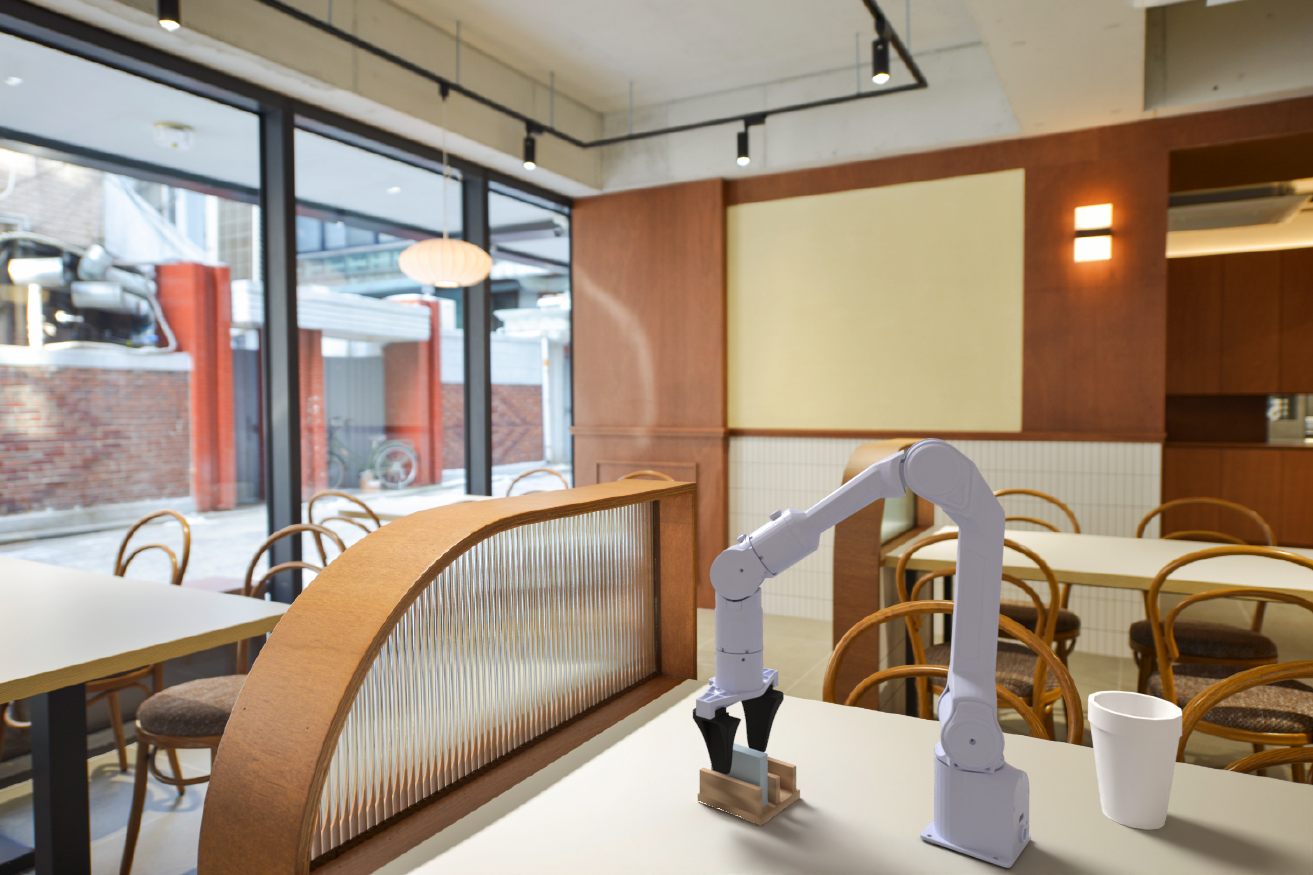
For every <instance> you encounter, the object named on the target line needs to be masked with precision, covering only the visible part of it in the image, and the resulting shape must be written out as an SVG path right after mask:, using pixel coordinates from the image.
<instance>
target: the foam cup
mask: <svg viewBox="0 0 1313 875" xmlns="http://www.w3.org/2000/svg"><path fill="white" fill-rule="evenodd" d="M1087 721H1088V722H1089V724H1090V731H1091V739H1092V749H1093V754H1094V762H1095V769H1096V770H1095V771H1096V777H1097V784H1098V791H1099V798H1100V799H1099V800H1100V806H1101V812H1102V814H1104V815H1105V816H1106V817H1107V819H1110V820H1112V821H1114V822H1115V823H1117V824H1120V825H1122V826H1124V827H1125V826H1126V827H1129V828H1132V829H1133V828H1134V829H1140V830H1145V831H1146V830H1147V831H1148V830H1158V829H1161V828H1162V827H1164V826H1165V824H1166V823H1165V821H1166V819H1167V814H1168V809H1169V808H1168V807H1169V802H1170V797H1171V791H1172V790H1171V789H1172V784H1173V779H1174V773H1175V766H1176V761H1177V756H1178V749H1179V742H1180V737H1183V712H1182V708H1180V707H1179V706H1177V705H1176V704H1175V703H1173V702H1171V701H1168V700H1165V699H1162V698H1159V697H1156V696H1153V695H1148V694H1143V693H1139V692H1133V691H1122V690H1121V691H1120V690H1104V691H1103V690H1101V691H1096V692H1093V693H1090V694H1089V695H1088V699H1087Z"/></svg>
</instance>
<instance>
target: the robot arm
mask: <svg viewBox="0 0 1313 875" xmlns="http://www.w3.org/2000/svg"><path fill="white" fill-rule="evenodd" d="M907 487H908V488H909V489H910V491H912V492H913V493H914V494H915V495H917V496H919V497H920V498H922V499H924V500H926V501H927V502H929V503H931V504H934V505H935V506H938V507H939V508H940V509H942V511H943V512H944V513H945V514H946V515H947V516H948V517H949V518H950V519H951V520H952V522H954V523H955V524H956V525H957V526H958V529H957V530H958V533H957V545H956V546H957V547H956V550H957V551H956V564H955V582H954V596H953V597H954V598H953V612H952V626H951V628H952V629H951V630H952V631H951V641H950V642H951V644H950V657H949V658H950V659H949V667H948V670H947V681H946V684H945V688H944V690H943V692H942V693H941V694H940V695H939V698H938V700H937V704H936V716H937V718H938V721H939V724H940V725H939V726H940V736H939V737H940V740H939V741H938V742H937V743H936V744H935V746H934V749H933V750H934V751H933V753H934V754H933V820H932V821H931V822H930V823H929V824H928V825H927V826H926V827H925V828H924V829H923V830H922V831H921V832H920V835H919V837H920V839H922V840H924V841H927V842H929V843H932V844H934V845H939V846H941V847H945V848H946V849H947V848H948V849H951V850H953V851H956V852H958V853H962V854H963V855H967V856H971V857H974V858H976V859H979V860H982V861H984V862H987V863H991V864H994V865H997V866H1000V867H1003V868H1006V869H1010V868H1011V867H1012V866H1013V865H1014V864H1015V862H1016V860H1018V858H1019V856H1020V855H1021V853H1022V852H1023V850H1024V849H1025V848H1026V846H1027V845H1028V844H1029V842H1030V841H1031V840H1032V836H1031V834H1030V781H1029V775H1028V773H1027V771H1024V770H1021V769H1019V768H1017V767H1014V766H1012V765H1011V764H1009V762H1007V761H1006V760H1005V756H1004V751H1005V747H1006V746H1005V744H1006V743H1005V742H1006V741H1005V736H1004V733H1003V730H1002V728H1001V726H1000V723H999V722H998V721H999V720H998V715H997V714H998V713H997V712H998V711H997V710H998V698H997V685H996V683H997V682H996V667H997V656H998V655H997V654H998V651H997V650H998V639H999V621H1000V606H1001V595H1002V594H1001V592H1002V580H1003V560H1004V546H1005V545H1004V544H1005V534H1006V533H1005V531H1006V530H1005V529H1006V514H1005V510H1004V507H1003V506H1002V505H1001V503H1000V502H999V500H998V498H997V497H996V495H995V494H994V492H993V490H992V489H991V488H990V486H989V484H988V482H987V481H986V480H985V478H984V477H983V475H982V473H981V472H980V470H979V468H978V467H977V465H976V463H975V462H974V461H973V460H971V459H970V458H969V457H968V456H966V455H965V454H964V453H963V452H961V451H960V450H959V449H958V448H956V447H955V446H953V445H952V444H951V443H949V442H947V441H945V440H943V439H939V438H935V437H934V438H933V437H932V438H924V439H921V440H918V441H917V442H914V444H912V445H911V446H910V447H909V448H908V449H907V451H906V453H905V450H904V449H902V450H900V451H897V452H894V453H893V454H890V455H889V456H886V457H885V458H883V459H881V460H879V461H877V462H874V463H873V464H871V465H870V466H868V467H867V468H865V469H864V470H862V471H861V472H860V473H858V474H857V475H855V476H854V477H852V478H851V479H849V480H848V481H847V482H845V483H844V484H843V485H841V486H840V487H838V488H837V489H835V490H834V491H833V492H831V493H830V494H828V495H827V496H825V497H824V498H823V499H821V500H820V501H818V502H817V503H815V504H814V505H813V506H811V507H810V508H808V509H807V510H803V509H798V508H793V507H788V508H787V509H785V510H784V511H782V510H781V509H778V508H777V510H775V511H774V512H772V513H771V514H769V518H770V520H769V521H768V522H766V523H765V524H763V525H761V526H760V527H759V528H757V529H756V530H754V531H752V532H751V533H749V534H748V535H747V534H746V533H743V534H741V535H739V536H738V537H736V541H737V542H738V543H737V544H735V545H731V546H729V547H727V549H724V550H723V551H722V552H721V553H720V554H719V555H718V556H717V557H715V559H714V561H713V562H712V564H711V566H710V570H709V577H710V578H709V580H710V583H711V585H712V587H713V589H714V590H715V595H714V597H715V608H714V676H712V677H710V678H709V679H708V685H709V687H708V689H707V690H706V691H705V692H704V693H703V694H702V695H701V696H700V697H697V698H696V699H695V704H696V705H695V708H693V709H692V719H693V721H694V722H695V724H696V725H697V728H698V729H699V731H700V733H701V735H702V737H703V740H704V743H705V746H706V749H707V752H708V756H709V760H710V764H711V765H712V769H713V771H716V772H719V773H722V774H725V775H727V774H729V773H730V771H731V766H732V757H733V745H734V743H735V738H736V734H737V730H738V728H739V726H740V723H741V721H742V719H741V718H739V717H737V716H733V715H730V712H729V711H727V708H729V707H731V706H734V705H735V704H737V703H739V702H741V705H742V709H743V714H744V719H745V729H746V730H745V731H746V732H745V733H746V742H747V747H748V748H751V749H754V750H757V751H760V752H764V753H766V752H767V747H768V744H769V739H770V737H771V736H770V735H771V731H772V727H773V723H774V721H775V718H776V715H777V713H778V710H779V708H780V707H781V705H782V704H783V701H784V697H785V696H784V695H785V694H784V692H783V691H781V690H778V689H777V690H776V689H774V688H776V687H778V686H779V670H777V669H773V668H768V667H764V610H763V607H762V587H760V586H761V584H763V582H764V581H765V580H766V579H773V578H775V577H777V576H778V575H780V574H782V573H784V572H785V571H787V570H788V569H790V568H791V567H793V566H794V565H795V564H797V563H799V562H800V561H801V560H803V559H805V558H807V557H808V556H810V555H812V554H813V553H814V552H816V551H818V550H819V546H820V538H821V535H822V534H823V533H824V532H825V531H827V530H829V529H831V528H832V527H835V526H836V525H837V524H839V523H841V522H843V521H844V520H845V519H847V518H849V517H850V516H852V515H854V514H856V513H857V512H859V511H861V510H862V509H864V508H865V507H867V506H869V505H870V504H872V503H873V502H875V501H877V500H879V499H893V498H894V499H895V498H899V499H900V498H901V499H902V498H906V497H907V492H906V491H907V490H906V488H907Z"/></svg>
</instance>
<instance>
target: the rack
mask: <svg viewBox="0 0 1313 875" xmlns="http://www.w3.org/2000/svg"><path fill="white" fill-rule="evenodd" d="M800 798H801V789H800V788H797V765H796V764H792V763H789V762H786V761H783V760H779V759H776V758H774V757H771V756H768V804H767V805H766V806H765V807H763V808H762V788H761V787H759V786H756V785H753V784H750V783H747V782H744V781H741V780H738V779H735V778H732V777H730V776H727V775H724V774H721V773H718V772H715V771H712V770H711V769H709V768H706V767H702V768H701V769H699V792H698V793H697V802H698V801H701V802H703V803H706V804H707V805H710V806H713V807H715V808H720V809H722V810H724V811H727V812H729V813H732V814H734V815H738V816H741V817H742V818H744V819H746V820H745V821H747V820H749V821H750V822H749V821H748V822H749V823H752V822H754V823H753V824H755V823H756V824H755V825H757V824H759V825H758V826H760V825H762V824H763V825H765V822H766V823H767V822H768V821H770V820H771V819H773V818H774V817H775V816H777V815H778V814H780V813H781V812H782V811H784V810H785V809H786V808H788V807H789V806H790V805H792V804H793V803H795V802H796V801H797V800H799V799H800ZM794 801H795V802H794ZM707 805H706V806H707ZM710 806H709V807H710ZM713 807H712V808H713ZM715 808H714V809H715ZM784 808H785V809H784ZM783 809H784V810H783ZM780 811H781V812H780ZM734 815H733V816H734ZM773 816H774V817H773ZM772 817H773V818H772ZM742 818H741V819H742ZM744 819H743V820H744ZM763 825H762V826H763Z"/></svg>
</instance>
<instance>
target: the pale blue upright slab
mask: <svg viewBox="0 0 1313 875" xmlns="http://www.w3.org/2000/svg"><path fill="white" fill-rule="evenodd" d="M768 757H769V756H768V753H767V752H760V751H757V750H754V749H751V748H749V746H743V745H741V744H738V743H735V742H734V745H733V757H732V766H731V771H730V773H729V774H727V776H730V777H732V778H735V779H738V780H741V781H744V782H747V783H750V784H753V785H756V786H759V787H761V788H762V808H763V807H765V806H766V805H767V804H768ZM710 767H711V769H710V770H712V771H713V769H712V765H711V766H710ZM715 772H716V771H715ZM718 773H719V772H718ZM721 774H722V773H721ZM724 775H725V774H724Z"/></svg>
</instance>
